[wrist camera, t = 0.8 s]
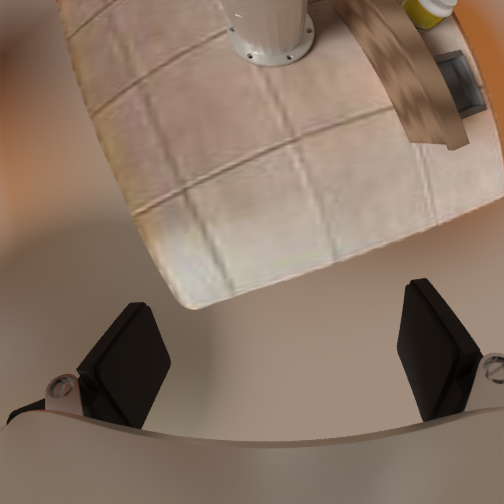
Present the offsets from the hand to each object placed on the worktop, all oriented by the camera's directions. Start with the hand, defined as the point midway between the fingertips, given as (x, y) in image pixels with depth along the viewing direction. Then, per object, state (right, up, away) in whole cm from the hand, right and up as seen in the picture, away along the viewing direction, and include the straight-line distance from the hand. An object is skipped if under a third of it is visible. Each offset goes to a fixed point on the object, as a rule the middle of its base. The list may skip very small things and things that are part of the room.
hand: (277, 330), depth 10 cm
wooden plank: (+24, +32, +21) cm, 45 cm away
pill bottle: (+25, +40, +18) cm, 51 cm away
